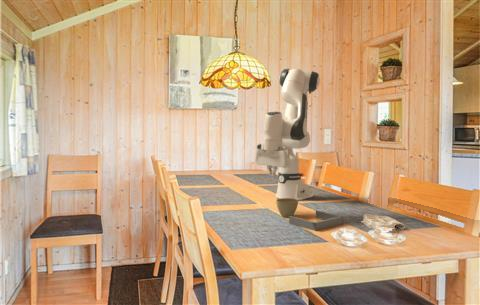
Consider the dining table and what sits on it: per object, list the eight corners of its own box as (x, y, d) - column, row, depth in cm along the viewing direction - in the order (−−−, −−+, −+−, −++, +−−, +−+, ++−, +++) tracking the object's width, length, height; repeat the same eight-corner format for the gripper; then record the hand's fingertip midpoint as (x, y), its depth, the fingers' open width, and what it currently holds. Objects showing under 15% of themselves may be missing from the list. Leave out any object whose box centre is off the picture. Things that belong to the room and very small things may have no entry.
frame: (317, 217, 173) (317, 210, 173) (343, 223, 162) (343, 216, 162) (289, 223, 162) (289, 216, 161) (315, 230, 151) (315, 223, 151)
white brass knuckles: (409, 233, 150) (373, 233, 149) (387, 221, 168) (355, 221, 167) (409, 224, 150) (373, 225, 149) (387, 213, 168) (355, 214, 166)
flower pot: (272, 214, 178) (272, 199, 177) (290, 212, 182) (291, 197, 181) (282, 219, 169) (283, 203, 168) (302, 217, 172) (302, 201, 172)
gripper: (293, 147, 174) (292, 177, 175) (263, 145, 190) (262, 173, 191) (284, 147, 170) (283, 178, 171) (253, 145, 186) (253, 173, 187)
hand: (272, 175), depth 181 cm, fingers closed
